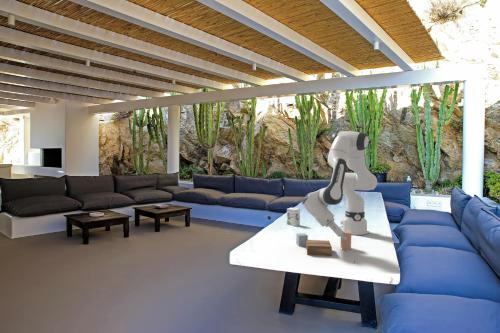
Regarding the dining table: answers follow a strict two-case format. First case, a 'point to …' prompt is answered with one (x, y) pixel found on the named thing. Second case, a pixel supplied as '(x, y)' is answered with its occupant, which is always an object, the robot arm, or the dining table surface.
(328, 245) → the walnut block
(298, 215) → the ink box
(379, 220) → the dining table surface
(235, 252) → the dining table surface
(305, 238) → the slate grey block
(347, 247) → the terracotta block
